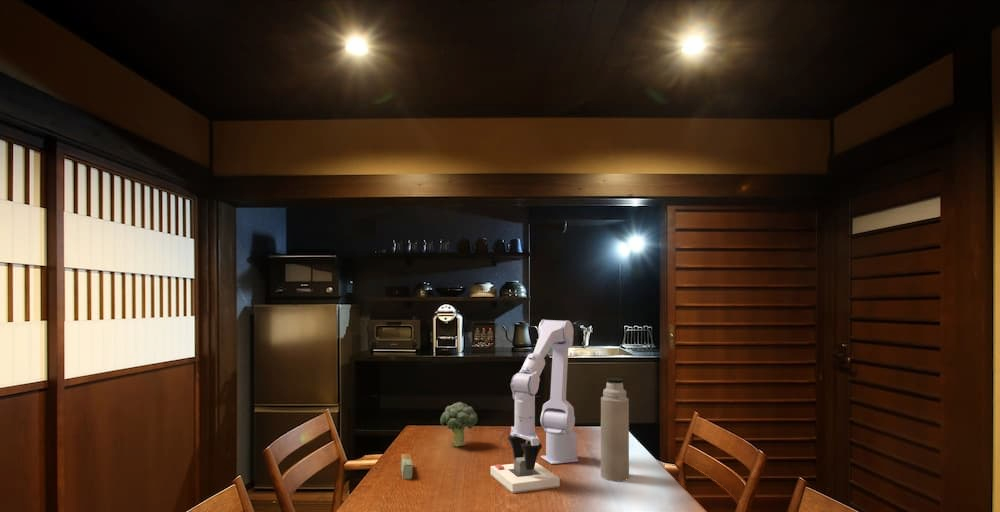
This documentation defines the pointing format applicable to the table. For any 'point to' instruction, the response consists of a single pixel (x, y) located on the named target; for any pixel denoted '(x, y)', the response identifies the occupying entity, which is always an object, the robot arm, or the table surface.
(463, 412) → the vegetable
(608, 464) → the thermos bottle
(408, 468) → the medication box
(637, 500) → the table surface
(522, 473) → the plug
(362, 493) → the table surface
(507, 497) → the table surface
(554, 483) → the faceplate
